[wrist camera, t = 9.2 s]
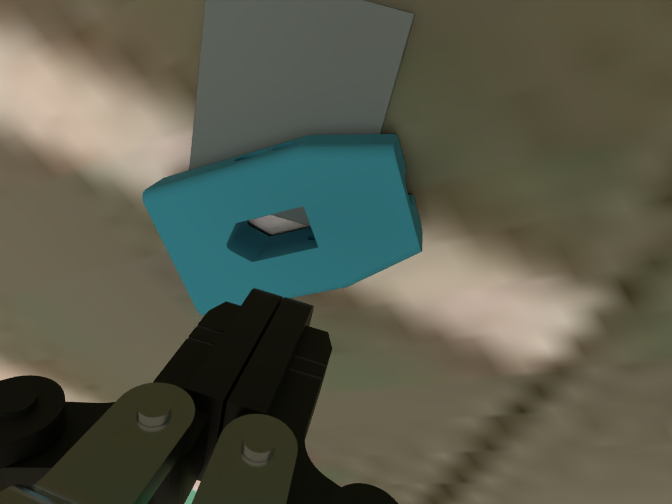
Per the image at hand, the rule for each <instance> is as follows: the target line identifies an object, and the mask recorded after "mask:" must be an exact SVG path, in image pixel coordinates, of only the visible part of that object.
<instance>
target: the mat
mask: <svg viewBox="0 0 672 504" xmlns="http://www.w3.org/2000/svg"><path fill="white" fill-rule="evenodd" d="M413 17H414V14H412V13H409V12H405V11H401V10H398V9H394V8H390V7H387V6H383V5H379V4H376V3H372V2H368V1H365V0H206V3H205V13H204V23H203V33H202V44H201V54H200V64H199V75H198V85H197V95H196V106H195V116H194V126H193V136H192V147H191V157H190V167H189V170H192V169H196V168H199V167H203V166H206V165H209V164H213V163H216V162H220V161H223V160H226V159H230V158H233V157H237V156H240V155H243V154H247V153H250V152H254V151H257V150H260V149H264V148H267V147H271V146H274V145H277V144H281V143H284V142H288V141H291V140H294V139H298V138H301V137H305V136H308V135H344V134H380V133H381V129H382V126H383V122H384V119H385V115H386V112H387V108H388V105H389V101H390V98H391V94H392V91H393V87H394V84H395V80H396V77H397V73H398V70H399V66H400V63H401V59H402V56H403V52H404V49H405V45H406V42H407V38H408V35H409V31H410V28H411V24H412V21H413ZM271 215H274V216H277V217H281V218H284V219H287V220H291V221H294V222H298V223H301V224H304V225H308V226H311V225H310V223H309V220H308V217H307V214H306V211H305V209H304V206H303V207H299V208H295V209H291V210H287V211H283V212H279V213H275V214H271Z"/></svg>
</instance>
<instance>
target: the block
mask: <svg viewBox="0 0 672 504" xmlns="http://www.w3.org/2000/svg"><path fill="white" fill-rule="evenodd" d="M405 176H406V165H405V161H404V157H403V153H402V150H401V146H400V142H399V139H398V136H397V134H344V135H308V136H305V137H301V138H298V139H294V140H291V141H288V142H284V143H281V144H277V145H274V146H271V147H267V148H264V149H260V150H257V151H254V152H250V153H247V154H243V155H240V156H237V157H233V158H230V159H226V160H223V161H220V162H216V163H213V164H209V165H206V166H203V167H199V168H196V169H192V170H189V171H186V172H182V173H179V174H175V175H172V176H169V177H165V178H163V179H161V180H160V181H158V182H157V183H155V184H153V185H152V186H150V187H149V188H147V189H146V190H145V191H144V192H143V202H144V205H145V207H146V209H147V211H148V213H149V215H150V217H151V219H152V221H153V223H154V225H155V227H156V229H157V231H158V233H159V235H160V237H161V239H162V241H163V243H164V245H165V247H166V249H167V251H168V253H169V255H170V257H171V259H172V261H173V263H174V265H175V267H176V269H177V271H178V273H179V275H180V277H181V279H182V281H183V283H184V285H185V287H186V289H187V291H188V293H189V295H190V297H191V299H192V301H193V303H194V305H195V307H196V309H197V311H198V312H199V313H200V314H201V315H206V313H207V312H208V311H209V310H211V309H213V308H214V307H216V306H218V305H220V304H222V303H224V302H226V301H227V302H230V303H233V304H237V305H240V306H241V305H242V303H243V302H244V300H245V299H246V297H247V296H248V294H249V293H250V291H251V290H252V289H253V288H256V289H260V290H263V291H266V292H269V293H273V294H276V295H279V296H283V298H284V297H286V298H293V297H298V296H303V295H308V294H313V293H319V292H324V291H329V290H334V289H339V288H344V287H348V286H350V285H352V284H354V283H356V282H359V281H361V280H363V279H365V278H367V277H369V276H371V275H373V274H375V273H378V272H380V271H382V270H384V269H386V268H388V267H390V266H392V265H394V264H396V263H399V262H401V261H403V260H405V259H407V258H409V257H411V256H413V255H415V254H418V253H420V252H422V227H421V222H420V218H419V214H418V210H417V207H416V203H415V199H414V196H413V195H412V194H410V195H408V192H407V187H406V181H405ZM303 206H304V209H305V211H306V214H307V217H308V220H309V223H310V225H311V227H308V228H304V229H300V230H296V231H292V232H287V233H283V234H279V235H275V236H268V235H266V234H264V233H262V232H260V231H259V230H257V229H255V228H253V227H251V226H250V225H248V223H247V220H251V219H255V218H259V217H263V216H267V215H271V214H275V213H279V212H283V211H287V210H291V209H295V208H299V207H303Z"/></svg>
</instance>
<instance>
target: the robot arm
mask: <svg viewBox="0 0 672 504" xmlns="http://www.w3.org/2000/svg"><path fill="white" fill-rule="evenodd" d="M313 307H314V306H313V305H309V304H306V303H303V302H300V301H296V300H293V299H290V298H286V297H284V298H283V296H279V295H276V294H273V293H269V292H266V291H263V290H260V289H256V288H253V289H252V290H251V291H250V293H249V294H248V296H247V297H246V299H245V300H244V302H243V303H242V305H241V306H240V305H237V304H233V303H230V302H227V301H226V302H224V303H222V304H220V305H218V306H216V307H214V308H213V309H211V310H209V311H208V312H207V313H206V315H205V316H204V317H203V318H202V320H201V321H200V322H199V324H198V326H197V327H196V328H195V329H194V330H193V331H192V333H191V334H190V335H189V338H188V339H186V340H185V342H184V343H183V344H182V346H181V347H180V348H179V349H178V351H177V352H176V353H175V355H174V356H173V357H172V358H171V360H170V361H169V362H168V364H167V365H166V366H165V367H164V369H163V370H162V371H161V373H160V374H159V375H158V376H157V378H156V379H155V380H154V382H153V383H148V384H143V385H140V386H137V387H135V388H133V389H130V390H129V391H127V392H126V393H124V394H123V395H122V396H121V397H120V398H119V399H118V400H117V401H116V402H111V403H84V402H65V395H64V391H63V389H62V388H61V386H60V385H59V384H57V383H56V382H55V381H53V380H51V379H48V378H46V377H41V376H32V375H30V376H18V377H13V378H8V379H5V380H1V381H0V504H184V503H185V501H186V499H187V497H188V496H189V494H190V492H191V490H192V488H193V486H194V484H195V482H196V480H199V481H201V482H200V485H199V487H198V490H197V492H196V494H195V497H194V499H193V502H192V504H398V503H397V502H396V501H395V500H394V499H393V498H392V497H391V496H390V495H389V494H388V493H386V492H385V491H383V490H381V489H380V488H377V487H375V486H372V485H369V484H363V483H354V484H349V485H346V486H344V487H340V486H338V485H337V484H336V483H334V482H333V481H331V480H330V479H328V478H327V477H326V476H324V475H323V474H322V473H321V472H320V471H319V470H318V469H317V468H316V467H315V466H314V465H313V463H312V462H311V460H310V458H309V456H308V454H307V451H306V448H305V438H306V435H307V431H308V428H309V425H310V422H311V419H312V415H313V412H314V409H315V406H316V403H317V400H318V396H319V393H320V390H321V386H322V382H323V379H324V375H325V372H326V368H327V365H328V361H329V358H330V354H331V351H332V346H331V342H330V338H329V334H328V332H325V331H322V330H319V329H316V328H312V327H309V325H310V321H311V317H312V313H313Z"/></svg>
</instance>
